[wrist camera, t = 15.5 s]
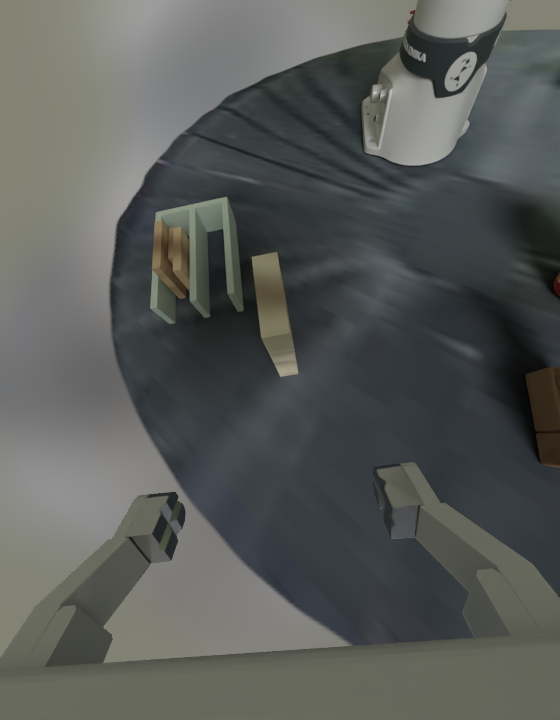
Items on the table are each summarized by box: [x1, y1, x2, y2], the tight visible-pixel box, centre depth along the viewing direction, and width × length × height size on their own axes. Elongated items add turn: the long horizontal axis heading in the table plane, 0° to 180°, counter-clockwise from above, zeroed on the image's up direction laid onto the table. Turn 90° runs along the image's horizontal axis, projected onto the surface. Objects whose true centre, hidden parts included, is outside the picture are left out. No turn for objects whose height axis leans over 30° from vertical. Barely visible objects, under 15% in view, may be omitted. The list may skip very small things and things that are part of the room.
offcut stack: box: [152, 220, 190, 299], centre depth 38 cm, size 10×4×8 cm, turn 7°
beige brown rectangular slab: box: [252, 252, 298, 377], centre depth 29 cm, size 9×3×14 cm, turn 8°
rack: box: [150, 197, 244, 324], centre depth 39 cm, size 19×13×5 cm, turn 7°
